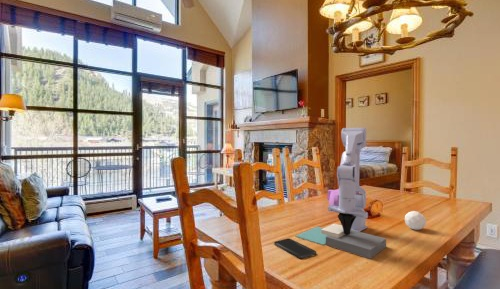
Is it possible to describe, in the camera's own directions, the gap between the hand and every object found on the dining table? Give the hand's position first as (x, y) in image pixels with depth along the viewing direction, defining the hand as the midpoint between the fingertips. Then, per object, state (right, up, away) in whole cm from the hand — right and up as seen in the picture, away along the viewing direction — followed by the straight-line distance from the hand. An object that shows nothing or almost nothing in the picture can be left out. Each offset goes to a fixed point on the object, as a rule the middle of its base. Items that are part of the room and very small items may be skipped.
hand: (347, 233), depth 97 cm
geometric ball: (+35, -4, +15) cm, 39 cm away
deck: (+2, -4, -2) cm, 5 cm away
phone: (-20, -4, -5) cm, 21 cm away
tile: (-3, -1, +3) cm, 4 cm away
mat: (-8, -4, +8) cm, 12 cm away
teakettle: (+18, -3, +48) cm, 51 cm away
